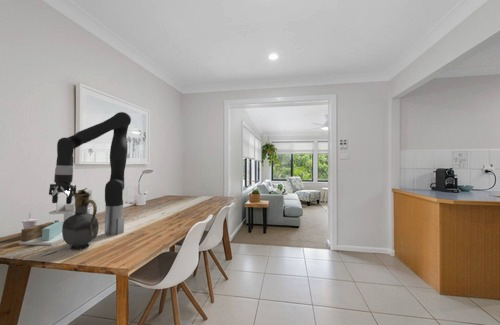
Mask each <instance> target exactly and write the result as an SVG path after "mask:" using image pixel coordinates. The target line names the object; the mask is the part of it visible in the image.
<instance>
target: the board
mask: <svg viewBox="0 0 500 325" xmlns="http://www.w3.org/2000/svg"><path fill="white" fill-rule="evenodd" d="M63 241H64V240H63V235H62V232H61V233H60V234H58V235H57V236H55V237H53V238H52V239H50V240H43V241H42V236H41V237H38V238H35V239H32V240H29V241H21V240H20V241H19V245H29V246H31V245H32V246H33V245H34V246H35V245H36V246H39V245H40V246H53V245H56V244H58V243H61V242H63ZM64 242H65V241H64Z"/></svg>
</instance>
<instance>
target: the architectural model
mask: <svg viewBox="0 0 500 325" xmlns="http://www.w3.org/2000/svg"><path fill="white" fill-rule="evenodd" d="M92 190H93V189H92ZM92 190H91V189H89V190H88V189H86V190H85V191H86V192H88V193H89V194H91V195H90V196H89V200H93V199H92V195H93V191H92ZM78 192H79V191H78V190H76V193H78ZM66 198H67V196H66V194H64V193H62V192H61V193H59V194H58V202H57V203H55V204H56V205H55V206H56V208H55V209H56V210H52V211H49V212H48V213H49V215H63V222H64V221H65V220H66V219H67V218H69V217H70V216H73V215H75V197H74V196H73V197H72V202H71V204H66ZM90 209H93V205H92V204H91V203H89V205H88V210H87V213H88V214H91V213H90V211H91V210H90Z"/></svg>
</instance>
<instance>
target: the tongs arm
mask: <svg viewBox="0 0 500 325" xmlns="http://www.w3.org/2000/svg"><path fill="white" fill-rule="evenodd" d="M63 223H64V221H60V220H59V219H57V220H54V224H52V225H50V226H48V227H46V228H44V229H42V241H43V240H50V239H52V238H53V237H55V236H57V235H58V234H60V233H61V232H62V227H63Z"/></svg>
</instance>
